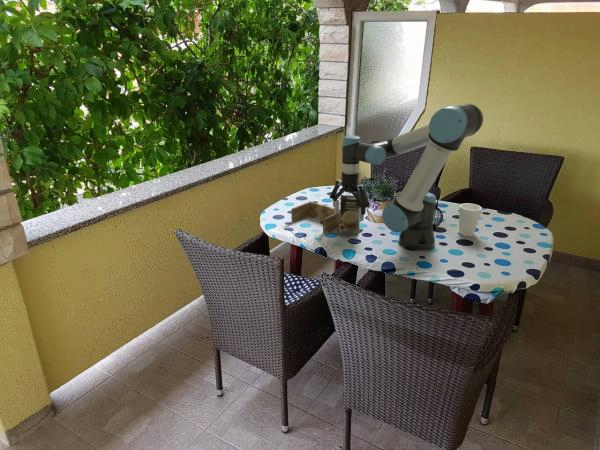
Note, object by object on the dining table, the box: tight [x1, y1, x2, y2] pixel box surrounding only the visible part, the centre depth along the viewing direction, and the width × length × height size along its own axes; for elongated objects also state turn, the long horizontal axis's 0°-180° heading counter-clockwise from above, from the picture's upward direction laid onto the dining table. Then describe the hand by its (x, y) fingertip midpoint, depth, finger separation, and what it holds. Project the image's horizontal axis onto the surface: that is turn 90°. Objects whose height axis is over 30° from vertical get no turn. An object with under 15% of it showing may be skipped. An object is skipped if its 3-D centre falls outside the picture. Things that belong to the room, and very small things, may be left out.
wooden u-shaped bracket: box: [290, 200, 340, 234], centre depth 216 cm, size 20×14×7 cm
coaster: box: [329, 227, 364, 239], centre depth 208 cm, size 10×12×1 cm
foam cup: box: [458, 202, 483, 237], centre depth 205 cm, size 10×9×13 cm
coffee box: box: [339, 194, 361, 235], centre depth 204 cm, size 9×6×16 cm
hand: (348, 217), depth 205 cm, fingers open, 13 cm apart
